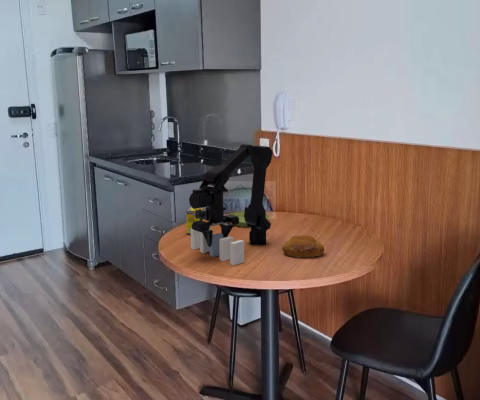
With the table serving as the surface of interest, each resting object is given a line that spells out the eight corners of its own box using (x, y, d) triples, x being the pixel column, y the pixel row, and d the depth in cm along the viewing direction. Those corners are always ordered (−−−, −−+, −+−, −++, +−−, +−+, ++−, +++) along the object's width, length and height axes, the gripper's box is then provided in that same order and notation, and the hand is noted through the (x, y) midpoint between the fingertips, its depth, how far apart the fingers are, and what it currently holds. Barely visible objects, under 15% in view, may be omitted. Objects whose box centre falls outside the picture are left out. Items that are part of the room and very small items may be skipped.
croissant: (321, 265, 178) (325, 245, 176) (280, 257, 181) (283, 237, 179) (322, 252, 192) (326, 233, 190) (284, 245, 195) (287, 226, 192)
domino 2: (213, 250, 189) (213, 230, 187) (203, 253, 186) (202, 233, 184) (210, 249, 190) (210, 229, 189) (200, 252, 187) (199, 232, 186)
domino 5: (244, 262, 176) (244, 241, 174) (233, 265, 173) (233, 243, 171) (240, 260, 177) (240, 239, 176) (230, 263, 174) (229, 242, 172)
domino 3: (223, 254, 185) (223, 234, 183) (212, 257, 181) (212, 236, 180) (220, 252, 186) (219, 232, 184) (209, 255, 183) (209, 235, 181)
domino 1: (204, 247, 193) (203, 227, 192) (194, 249, 190) (193, 229, 188) (201, 245, 195) (200, 226, 193) (191, 248, 192) (190, 228, 190)
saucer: (219, 226, 224) (219, 220, 223) (233, 216, 243) (233, 209, 242) (263, 230, 218) (263, 223, 217) (274, 219, 237) (274, 212, 236)
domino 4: (233, 258, 180) (233, 237, 178) (223, 261, 177) (222, 240, 175) (230, 256, 182) (229, 236, 180) (219, 259, 178) (219, 238, 177)
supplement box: (200, 235, 209) (199, 211, 207) (186, 234, 210) (186, 210, 208) (203, 231, 215) (203, 207, 212) (190, 231, 216) (190, 207, 213)
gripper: (221, 197, 191) (222, 235, 195) (182, 204, 179) (183, 245, 183) (240, 202, 183) (240, 241, 187) (200, 209, 171) (201, 252, 175)
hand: (216, 244), depth 183 cm, fingers open, 6 cm apart
